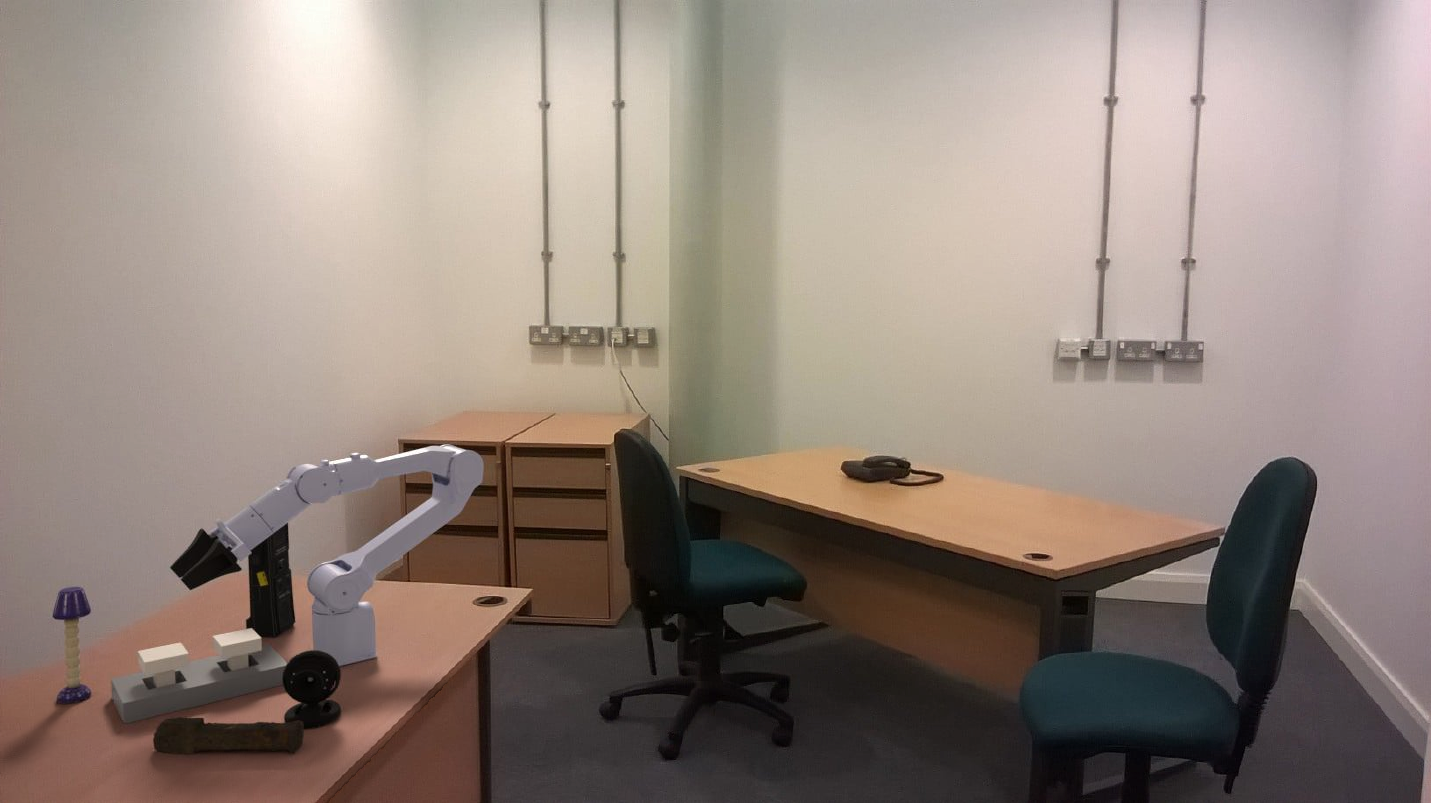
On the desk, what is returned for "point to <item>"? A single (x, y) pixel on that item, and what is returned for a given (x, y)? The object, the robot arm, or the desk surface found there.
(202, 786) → the desk surface
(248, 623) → the portable radio
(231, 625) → the desk surface
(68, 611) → the toy lamp
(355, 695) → the desk surface
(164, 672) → the cap
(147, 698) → the panel
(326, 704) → the webcam
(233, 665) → the cap
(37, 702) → the desk surface
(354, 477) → the robot arm
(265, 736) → the hand tool
